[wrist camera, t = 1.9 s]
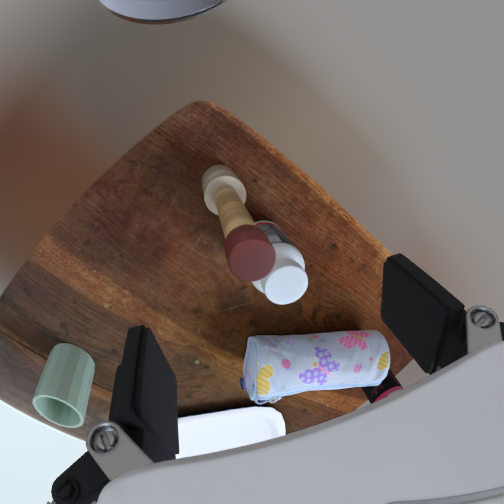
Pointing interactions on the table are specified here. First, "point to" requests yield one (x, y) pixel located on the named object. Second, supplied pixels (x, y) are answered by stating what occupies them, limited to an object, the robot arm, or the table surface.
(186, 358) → the table surface
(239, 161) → the table surface
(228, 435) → the plate
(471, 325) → the robot arm
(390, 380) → the beverage can
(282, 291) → the pill bottle
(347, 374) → the pencil case
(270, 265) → the wooden rod
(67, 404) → the cup
